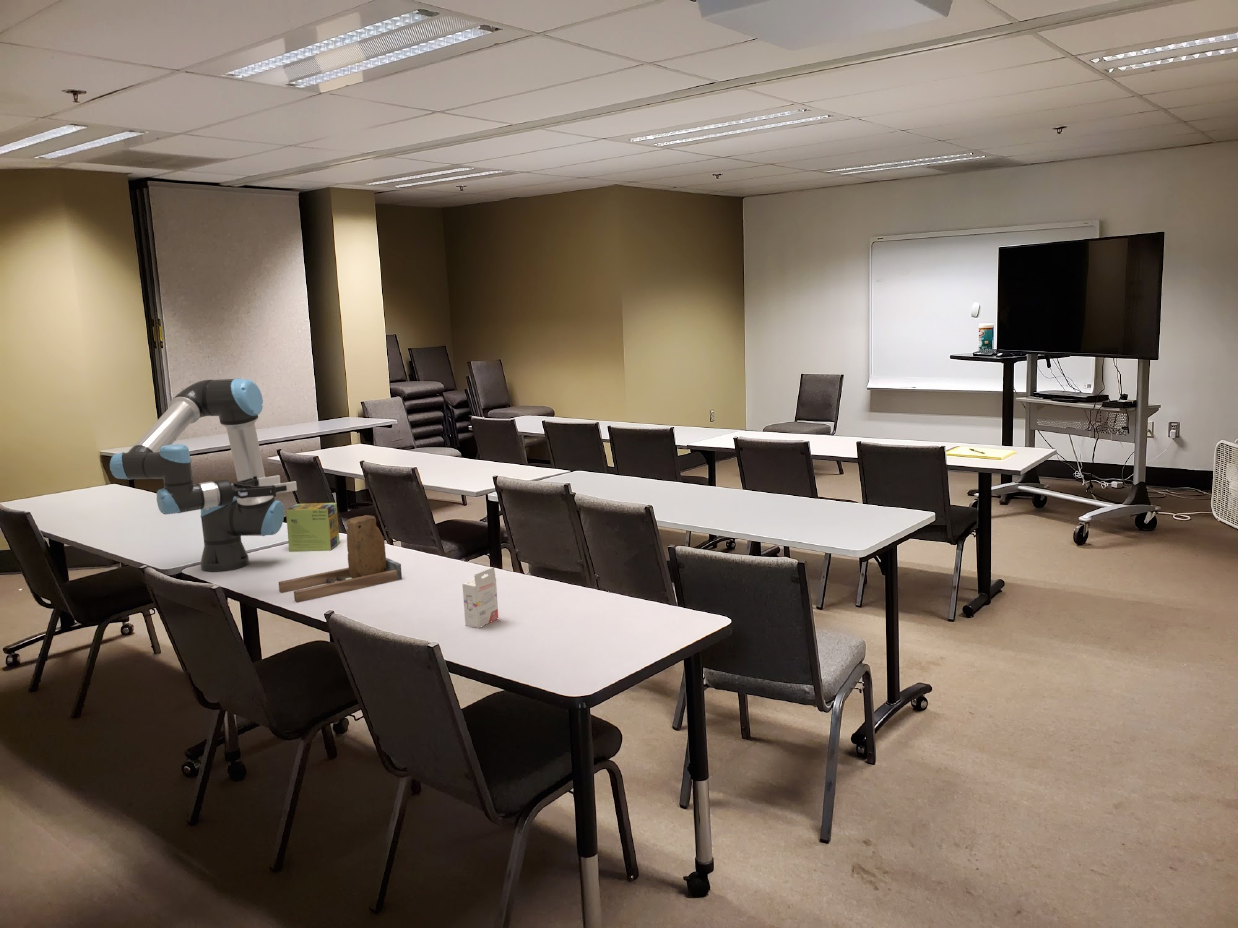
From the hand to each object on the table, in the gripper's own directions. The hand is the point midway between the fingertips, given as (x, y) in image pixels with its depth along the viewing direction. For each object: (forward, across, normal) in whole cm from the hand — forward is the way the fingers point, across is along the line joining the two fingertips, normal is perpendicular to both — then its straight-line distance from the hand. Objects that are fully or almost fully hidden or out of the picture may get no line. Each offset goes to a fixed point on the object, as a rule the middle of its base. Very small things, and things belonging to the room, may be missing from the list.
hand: (287, 482), depth 283 cm
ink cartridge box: (+23, +72, -32) cm, 82 cm away
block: (+19, +11, -33) cm, 39 cm away
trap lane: (+10, +11, -33) cm, 36 cm away
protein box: (+22, -42, -34) cm, 58 cm away
